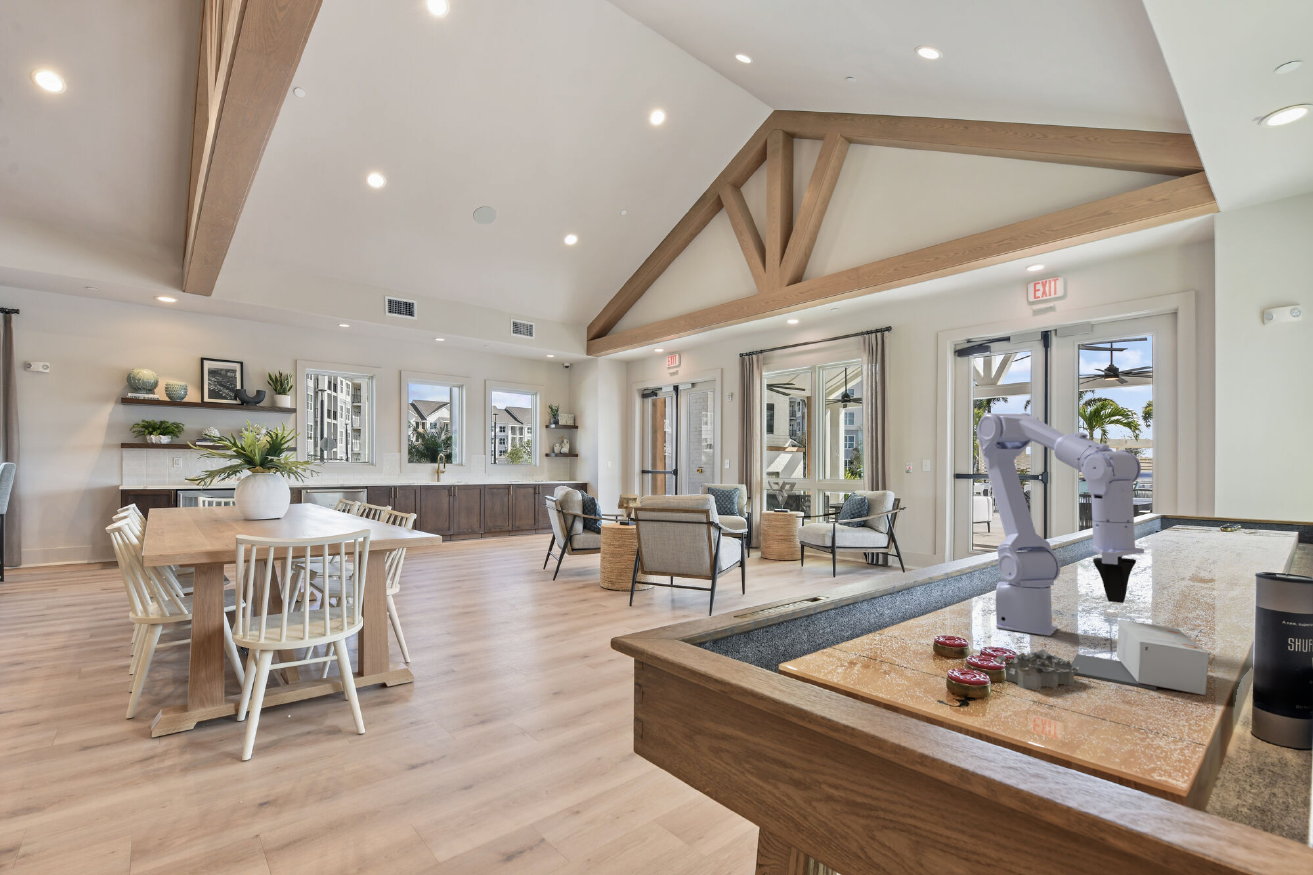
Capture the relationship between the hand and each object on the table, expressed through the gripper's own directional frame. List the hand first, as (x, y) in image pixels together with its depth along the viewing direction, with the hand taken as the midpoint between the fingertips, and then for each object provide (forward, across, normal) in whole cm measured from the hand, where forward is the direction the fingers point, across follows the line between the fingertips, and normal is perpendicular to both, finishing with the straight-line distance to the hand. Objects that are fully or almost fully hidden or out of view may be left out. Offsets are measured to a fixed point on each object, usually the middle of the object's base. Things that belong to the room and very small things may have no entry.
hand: (1116, 601), depth 104 cm
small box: (+6, 0, -4) cm, 7 cm away
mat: (+10, -8, 0) cm, 13 cm away
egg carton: (+10, -20, +9) cm, 24 cm away
